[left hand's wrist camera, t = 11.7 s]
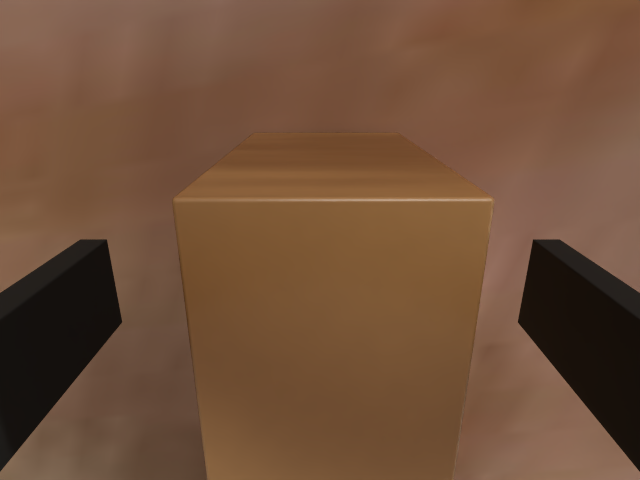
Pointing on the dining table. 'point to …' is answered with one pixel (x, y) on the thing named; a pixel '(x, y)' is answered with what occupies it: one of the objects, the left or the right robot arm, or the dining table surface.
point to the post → (331, 306)
